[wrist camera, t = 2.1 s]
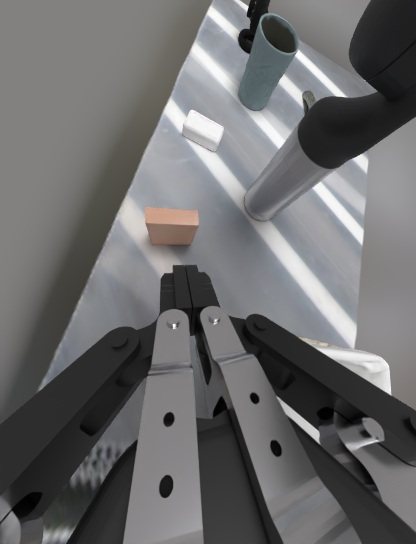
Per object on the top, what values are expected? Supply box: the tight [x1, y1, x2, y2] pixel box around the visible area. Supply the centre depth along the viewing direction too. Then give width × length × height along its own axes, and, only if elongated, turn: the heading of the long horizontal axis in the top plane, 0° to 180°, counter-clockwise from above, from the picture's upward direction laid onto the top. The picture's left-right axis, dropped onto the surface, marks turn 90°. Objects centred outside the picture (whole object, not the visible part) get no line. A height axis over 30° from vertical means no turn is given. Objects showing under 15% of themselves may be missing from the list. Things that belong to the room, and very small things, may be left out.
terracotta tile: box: [145, 207, 199, 245], centre depth 30 cm, size 3×8×10 cm, turn 93°
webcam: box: [239, 0, 270, 53], centre depth 44 cm, size 8×8×10 cm
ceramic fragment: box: [302, 91, 317, 109], centre depth 50 cm, size 14×5×4 cm, turn 1°
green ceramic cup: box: [239, 13, 299, 111], centre depth 40 cm, size 10×10×12 cm
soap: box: [183, 110, 224, 152], centre depth 39 cm, size 9×6×3 cm, turn 70°
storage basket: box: [277, 337, 391, 444], centre depth 28 cm, size 24×16×15 cm
